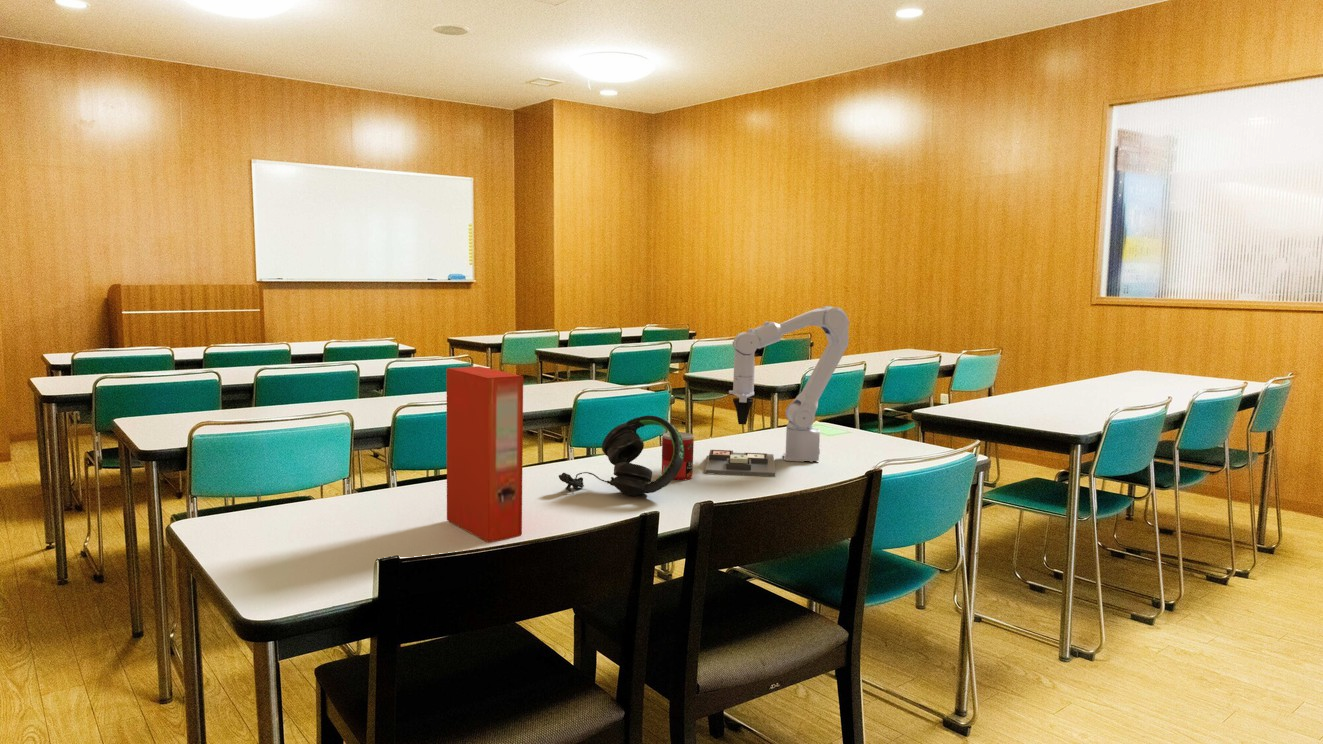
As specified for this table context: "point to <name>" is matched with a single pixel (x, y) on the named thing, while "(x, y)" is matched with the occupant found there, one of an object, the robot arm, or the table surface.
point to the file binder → (485, 452)
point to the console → (741, 465)
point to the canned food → (687, 463)
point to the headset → (627, 447)
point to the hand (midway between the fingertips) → (742, 424)
